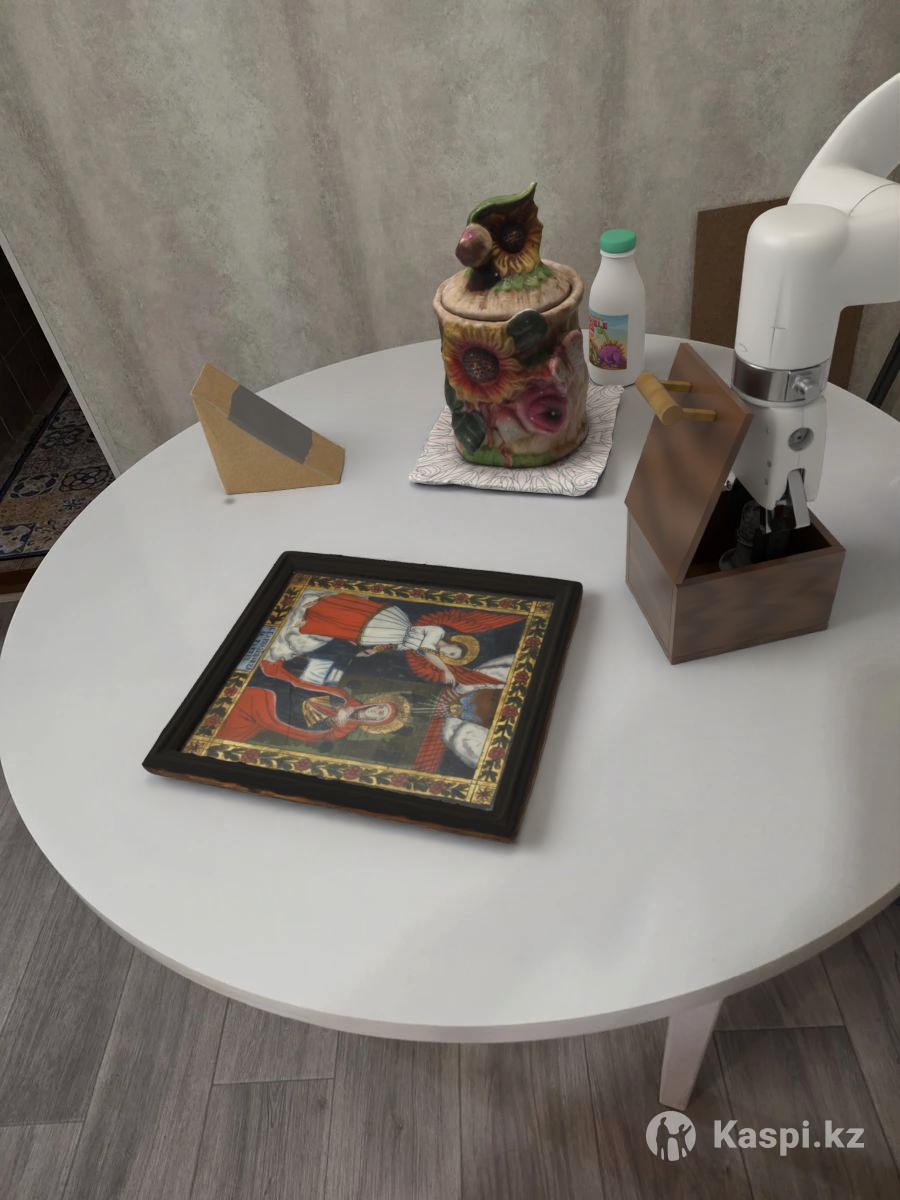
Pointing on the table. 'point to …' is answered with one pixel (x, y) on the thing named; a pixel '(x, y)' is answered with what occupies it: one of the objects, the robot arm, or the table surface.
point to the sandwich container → (260, 439)
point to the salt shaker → (743, 538)
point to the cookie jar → (515, 365)
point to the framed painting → (381, 692)
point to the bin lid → (685, 457)
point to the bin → (735, 590)
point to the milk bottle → (617, 313)
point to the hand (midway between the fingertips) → (753, 540)
